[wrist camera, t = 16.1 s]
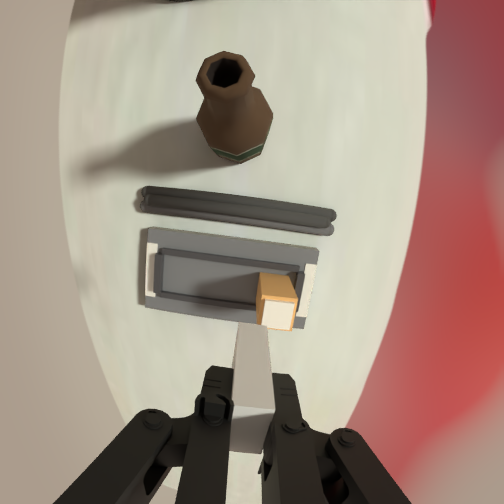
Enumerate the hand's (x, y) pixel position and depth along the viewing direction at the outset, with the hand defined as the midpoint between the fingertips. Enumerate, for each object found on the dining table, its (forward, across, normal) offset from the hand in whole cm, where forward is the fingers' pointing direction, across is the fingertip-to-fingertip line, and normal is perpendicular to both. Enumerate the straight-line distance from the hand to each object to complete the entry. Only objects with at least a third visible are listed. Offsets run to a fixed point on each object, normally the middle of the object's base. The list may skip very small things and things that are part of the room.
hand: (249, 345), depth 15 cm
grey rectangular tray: (+27, -2, -5) cm, 27 cm away
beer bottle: (+27, -4, +15) cm, 31 cm away
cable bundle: (+27, -3, +5) cm, 28 cm away
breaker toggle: (+25, +4, -5) cm, 25 cm away
